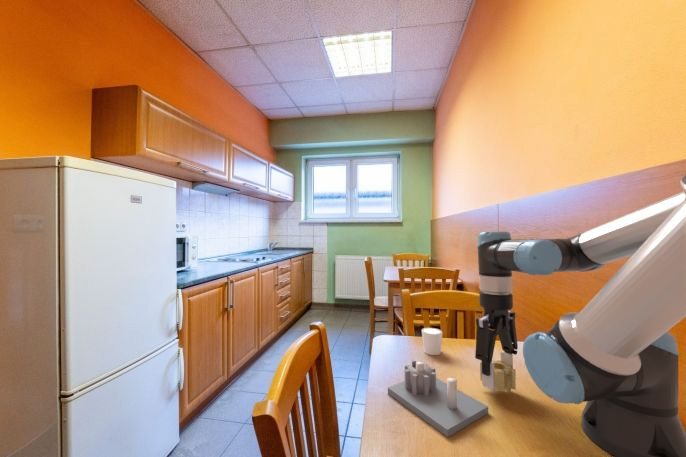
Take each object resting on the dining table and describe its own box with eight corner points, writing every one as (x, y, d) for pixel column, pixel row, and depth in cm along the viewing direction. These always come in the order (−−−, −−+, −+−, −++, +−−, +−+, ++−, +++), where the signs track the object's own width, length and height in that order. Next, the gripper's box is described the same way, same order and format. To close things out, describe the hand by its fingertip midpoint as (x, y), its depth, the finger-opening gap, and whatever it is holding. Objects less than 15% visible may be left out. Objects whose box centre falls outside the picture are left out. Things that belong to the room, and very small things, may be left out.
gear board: (488, 413, 64) (488, 379, 64) (447, 437, 57) (447, 399, 57) (426, 377, 80) (426, 351, 80) (387, 393, 72) (387, 363, 72)
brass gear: (521, 386, 71) (520, 368, 71) (504, 395, 67) (504, 376, 67) (491, 374, 78) (491, 357, 78) (474, 381, 74) (474, 364, 74)
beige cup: (417, 351, 97) (417, 330, 97) (428, 345, 102) (428, 325, 102) (436, 357, 92) (435, 336, 92) (446, 351, 97) (446, 330, 97)
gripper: (503, 286, 82) (505, 367, 81) (457, 294, 71) (459, 388, 70) (531, 289, 75) (534, 378, 75) (486, 299, 65) (489, 402, 64)
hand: (498, 382), depth 72 cm, fingers closed on brass gear, 8 cm apart
